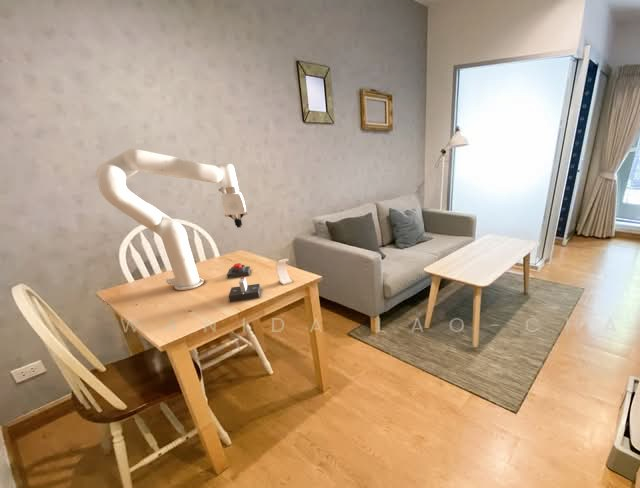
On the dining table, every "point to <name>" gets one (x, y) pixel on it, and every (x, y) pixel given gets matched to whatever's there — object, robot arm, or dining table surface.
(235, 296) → the device
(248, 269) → the button block
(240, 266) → the button
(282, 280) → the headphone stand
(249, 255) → the dining table surface
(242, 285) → the grey rectangular block
